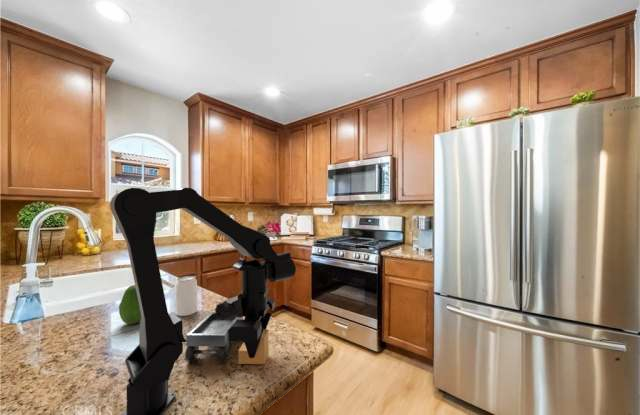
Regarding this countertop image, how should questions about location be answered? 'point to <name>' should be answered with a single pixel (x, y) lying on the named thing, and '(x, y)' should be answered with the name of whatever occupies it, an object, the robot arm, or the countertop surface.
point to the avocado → (130, 306)
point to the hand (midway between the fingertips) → (254, 352)
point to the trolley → (210, 337)
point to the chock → (260, 353)
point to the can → (186, 296)
